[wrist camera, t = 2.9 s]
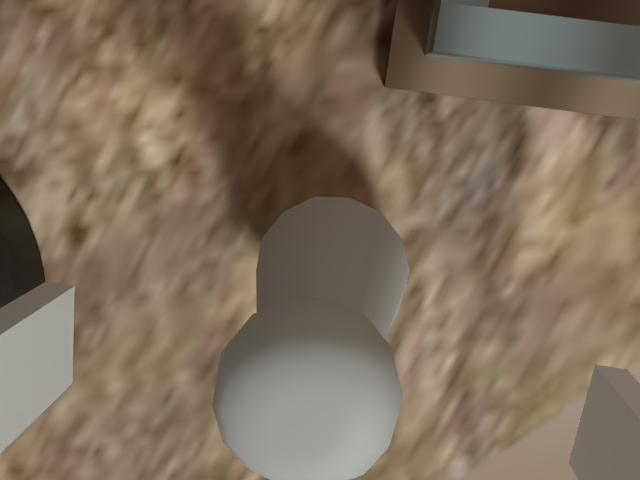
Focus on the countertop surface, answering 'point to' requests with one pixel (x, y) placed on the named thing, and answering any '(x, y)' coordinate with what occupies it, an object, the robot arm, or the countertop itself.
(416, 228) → the countertop surface
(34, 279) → the robot arm
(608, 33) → the collar socket
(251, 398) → the salt shaker
